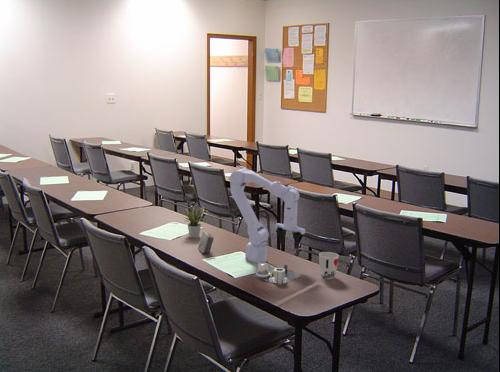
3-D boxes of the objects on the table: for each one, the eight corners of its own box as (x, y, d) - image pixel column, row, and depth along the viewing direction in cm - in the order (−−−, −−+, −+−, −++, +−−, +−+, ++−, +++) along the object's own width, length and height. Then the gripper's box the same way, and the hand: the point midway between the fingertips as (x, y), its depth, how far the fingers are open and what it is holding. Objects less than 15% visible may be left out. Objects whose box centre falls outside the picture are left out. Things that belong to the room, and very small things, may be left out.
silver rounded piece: (252, 275, 219) (253, 264, 218) (261, 272, 223) (261, 260, 222) (264, 279, 215) (264, 267, 214) (272, 275, 220) (273, 264, 219)
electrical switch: (197, 248, 258) (199, 230, 256) (207, 248, 259) (209, 230, 258) (202, 254, 249) (203, 235, 247) (212, 254, 250) (214, 235, 249)
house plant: (212, 232, 285) (212, 203, 282) (207, 240, 271) (207, 209, 268) (186, 231, 286) (186, 202, 283) (180, 238, 273) (180, 208, 269)
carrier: (251, 278, 219) (252, 269, 218) (273, 269, 230) (273, 260, 229) (280, 288, 209) (281, 278, 209) (301, 278, 221) (302, 268, 220)
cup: (322, 281, 218) (324, 258, 216) (315, 274, 225) (316, 252, 223) (340, 279, 220) (341, 257, 218) (332, 273, 228) (333, 251, 226)
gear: (268, 281, 213) (269, 269, 212) (278, 277, 217) (278, 266, 217) (280, 285, 209) (280, 273, 208) (289, 281, 213) (290, 269, 212)
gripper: (309, 218, 227) (308, 248, 230) (282, 212, 236) (281, 241, 239) (300, 221, 222) (299, 251, 224) (273, 215, 231) (272, 244, 233)
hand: (289, 246), depth 231 cm, fingers open, 7 cm apart
